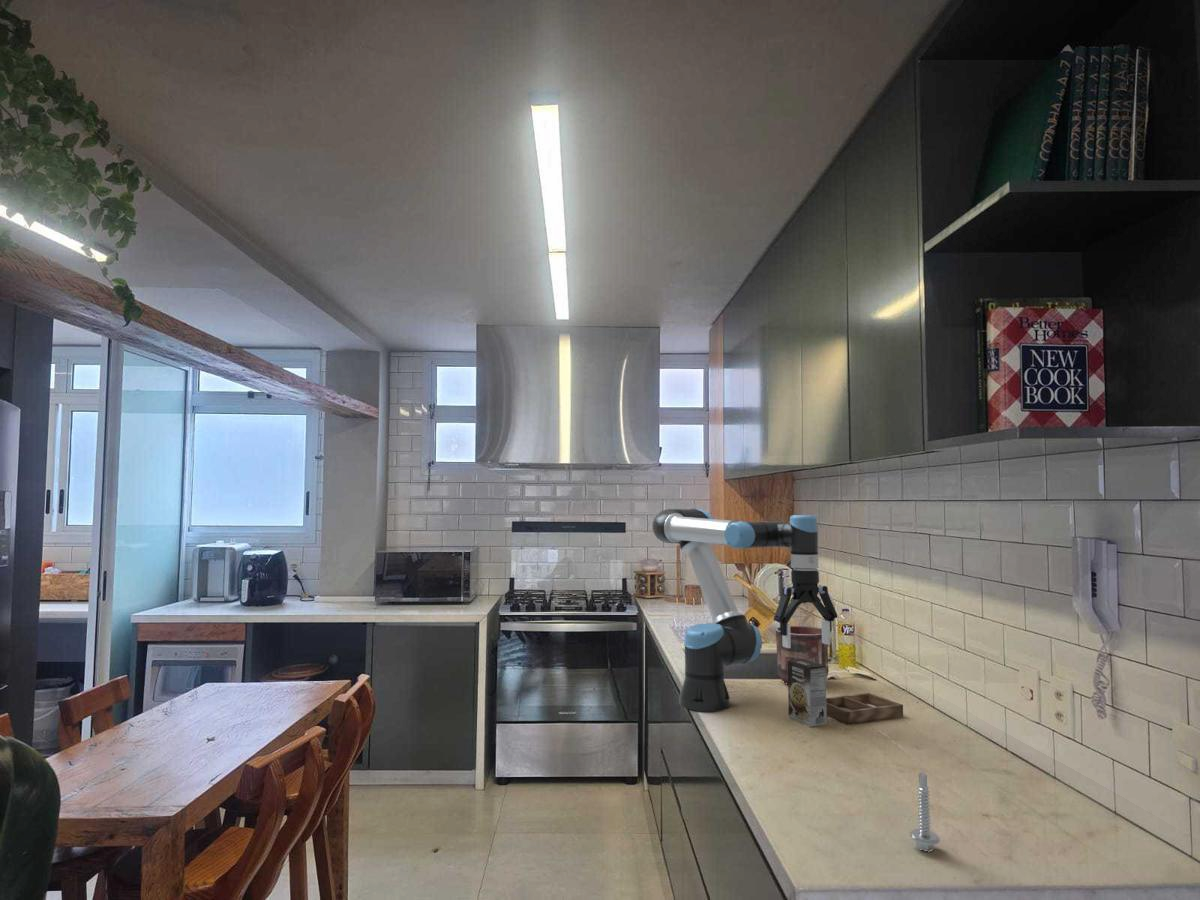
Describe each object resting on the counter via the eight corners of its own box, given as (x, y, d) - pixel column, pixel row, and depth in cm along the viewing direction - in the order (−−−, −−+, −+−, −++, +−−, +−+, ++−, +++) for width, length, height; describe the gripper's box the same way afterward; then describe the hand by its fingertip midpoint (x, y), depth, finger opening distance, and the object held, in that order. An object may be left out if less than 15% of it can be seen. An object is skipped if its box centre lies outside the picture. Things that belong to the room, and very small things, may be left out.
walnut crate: (847, 725, 188) (847, 712, 188) (814, 711, 200) (814, 699, 200) (903, 717, 195) (902, 704, 195) (868, 704, 207) (868, 692, 208)
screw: (938, 858, 117) (907, 850, 119) (942, 846, 121) (912, 839, 123) (935, 779, 118) (905, 773, 120) (939, 770, 122) (910, 764, 124)
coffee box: (787, 718, 194) (786, 660, 195) (805, 715, 196) (804, 658, 198) (810, 727, 185) (808, 666, 187) (828, 724, 188) (826, 664, 189)
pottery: (834, 692, 221) (833, 635, 223) (778, 689, 224) (778, 633, 226) (825, 679, 239) (824, 626, 240) (773, 676, 241) (773, 624, 243)
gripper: (776, 571, 186) (777, 651, 184) (849, 569, 195) (851, 644, 194) (760, 569, 193) (761, 646, 191) (831, 567, 202) (833, 640, 201)
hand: (806, 645), depth 192 cm, fingers open, 13 cm apart
